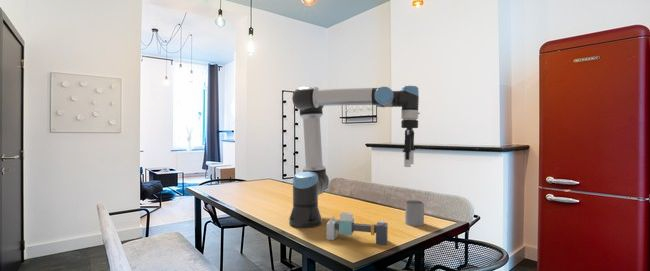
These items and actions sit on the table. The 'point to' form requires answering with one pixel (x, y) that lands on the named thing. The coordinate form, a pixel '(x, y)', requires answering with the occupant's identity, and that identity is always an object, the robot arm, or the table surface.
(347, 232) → the sleeve
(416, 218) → the cup
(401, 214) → the table surface
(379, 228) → the slider rail
